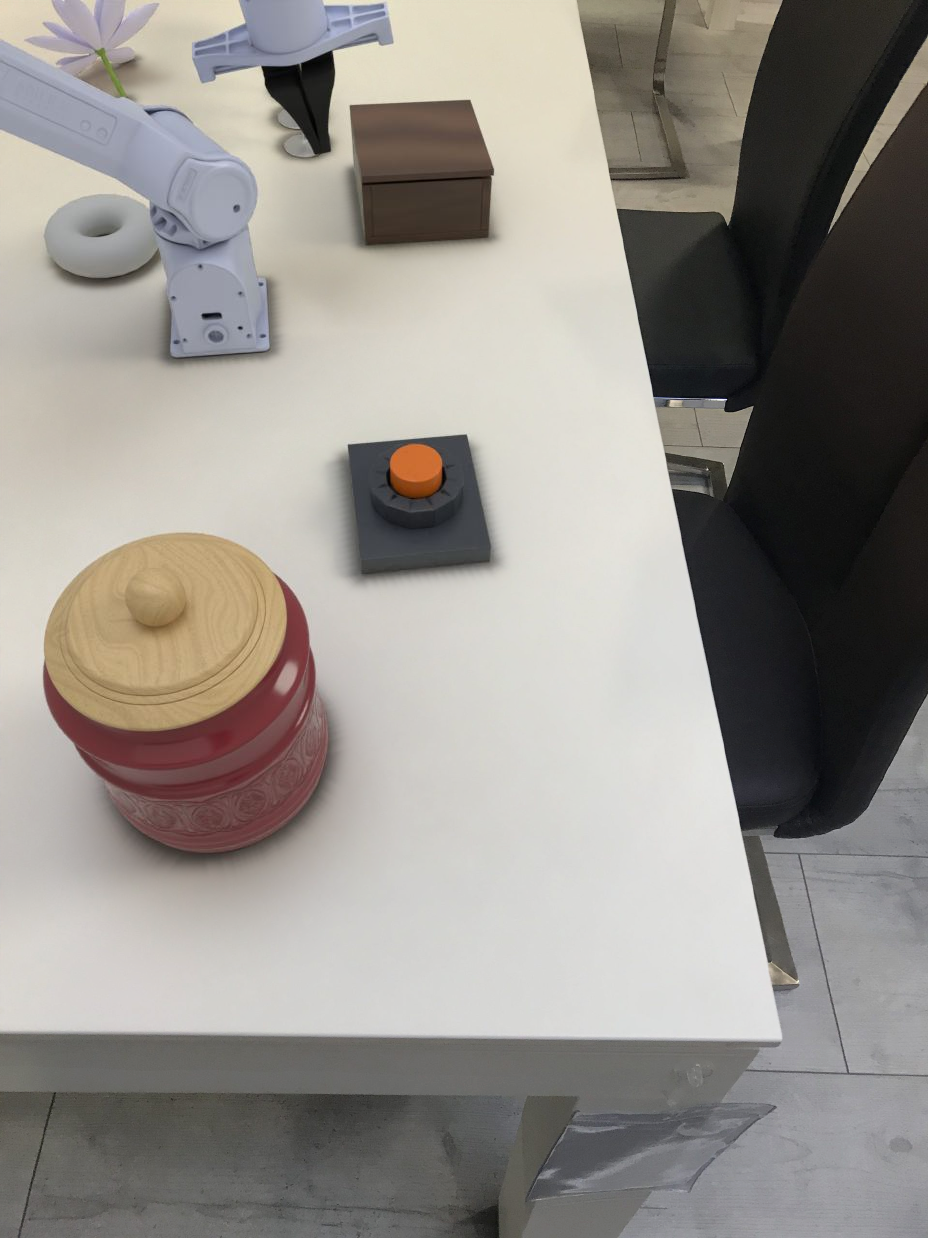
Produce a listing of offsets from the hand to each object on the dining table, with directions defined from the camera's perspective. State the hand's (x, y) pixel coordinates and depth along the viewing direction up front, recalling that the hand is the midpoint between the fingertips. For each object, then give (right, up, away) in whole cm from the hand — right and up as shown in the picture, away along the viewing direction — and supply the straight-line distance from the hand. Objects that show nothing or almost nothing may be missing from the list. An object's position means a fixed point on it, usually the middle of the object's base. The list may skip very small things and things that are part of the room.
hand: (322, 145), depth 74 cm
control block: (+8, -30, -7) cm, 32 cm away
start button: (+8, -29, -10) cm, 31 cm away
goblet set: (-7, +20, +27) cm, 34 cm away
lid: (+7, +5, +10) cm, 13 cm away
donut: (-21, -5, +9) cm, 23 cm away
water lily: (-28, +21, +27) cm, 44 cm away
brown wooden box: (+7, +2, +15) cm, 17 cm away
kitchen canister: (-3, -47, -19) cm, 50 cm away
